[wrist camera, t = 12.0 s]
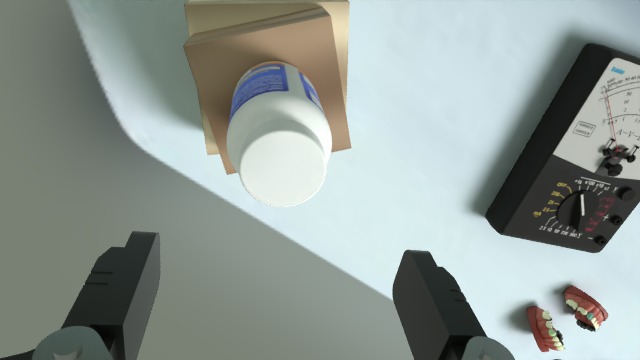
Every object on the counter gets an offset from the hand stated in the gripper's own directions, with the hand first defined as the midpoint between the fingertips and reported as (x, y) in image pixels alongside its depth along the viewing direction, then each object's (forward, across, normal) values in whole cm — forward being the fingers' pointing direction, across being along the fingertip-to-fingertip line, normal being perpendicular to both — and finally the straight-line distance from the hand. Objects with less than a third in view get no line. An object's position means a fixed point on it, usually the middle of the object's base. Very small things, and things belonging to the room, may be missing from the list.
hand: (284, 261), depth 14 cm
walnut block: (+20, 0, 0) cm, 20 cm away
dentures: (+24, -40, +26) cm, 53 cm away
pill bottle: (+16, 0, 0) cm, 16 cm away
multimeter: (+24, -32, +4) cm, 40 cm away
